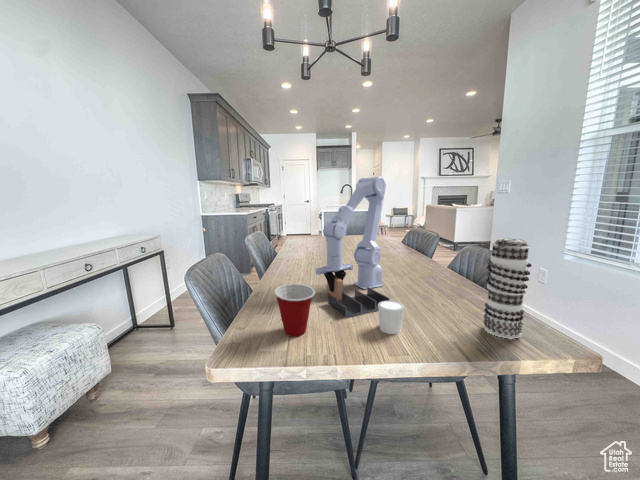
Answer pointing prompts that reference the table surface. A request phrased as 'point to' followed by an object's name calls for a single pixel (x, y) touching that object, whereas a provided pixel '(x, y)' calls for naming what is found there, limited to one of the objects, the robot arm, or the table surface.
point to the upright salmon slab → (336, 288)
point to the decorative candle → (506, 287)
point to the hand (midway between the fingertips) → (334, 290)
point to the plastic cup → (294, 307)
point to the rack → (357, 303)
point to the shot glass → (390, 316)
